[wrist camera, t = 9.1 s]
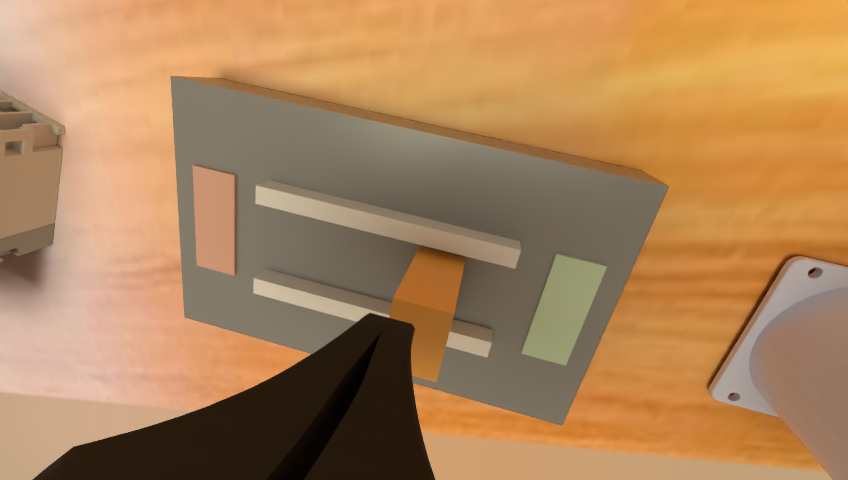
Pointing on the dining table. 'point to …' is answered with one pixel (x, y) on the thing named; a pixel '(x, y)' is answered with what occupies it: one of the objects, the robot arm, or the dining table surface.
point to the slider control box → (402, 234)
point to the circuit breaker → (27, 177)
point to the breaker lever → (429, 306)
